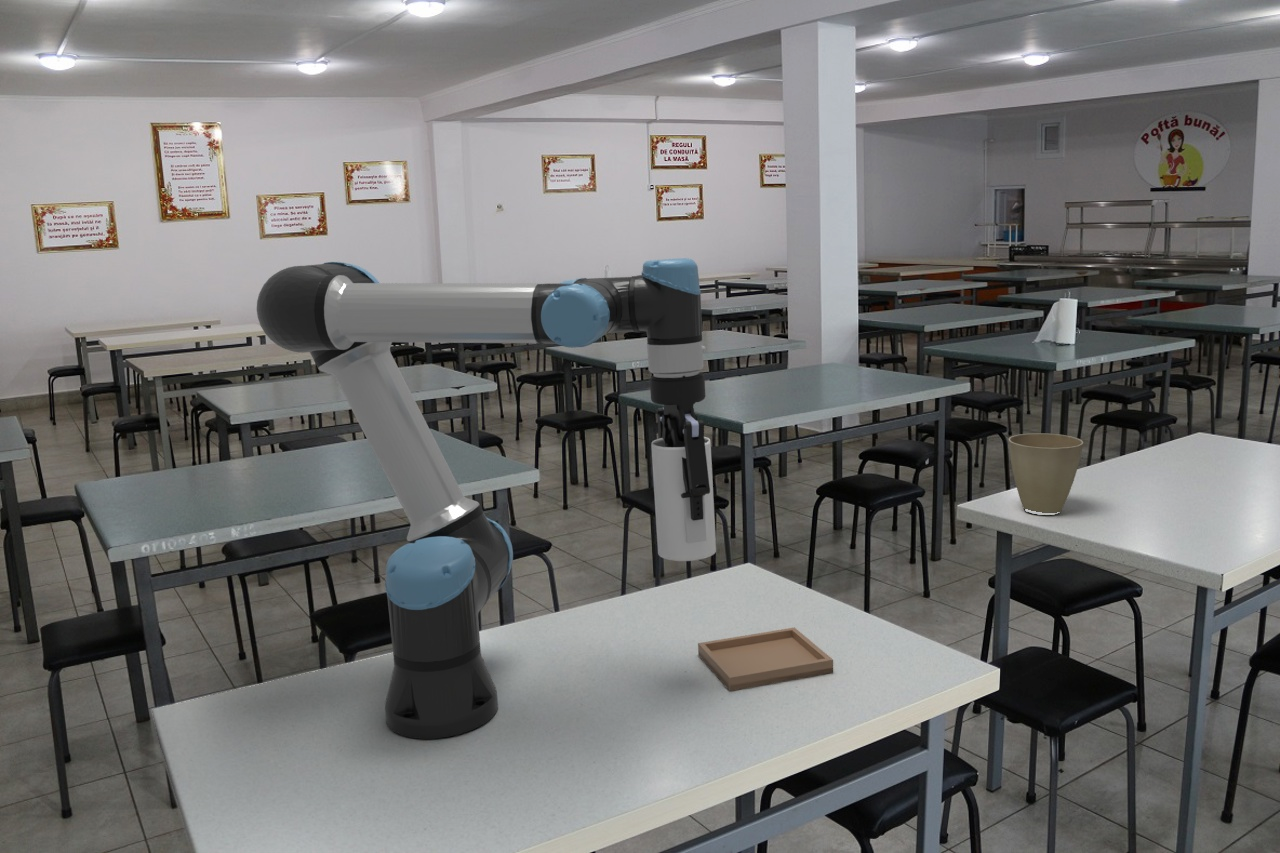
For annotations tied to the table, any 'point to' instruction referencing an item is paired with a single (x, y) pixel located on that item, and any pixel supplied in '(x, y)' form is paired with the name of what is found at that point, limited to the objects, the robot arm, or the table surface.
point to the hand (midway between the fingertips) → (686, 532)
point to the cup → (678, 505)
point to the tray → (764, 658)
